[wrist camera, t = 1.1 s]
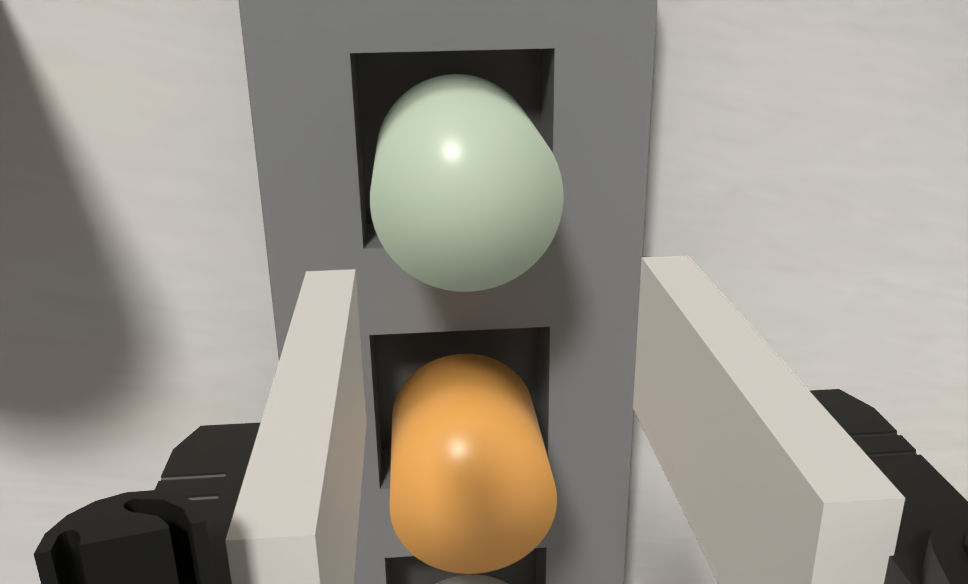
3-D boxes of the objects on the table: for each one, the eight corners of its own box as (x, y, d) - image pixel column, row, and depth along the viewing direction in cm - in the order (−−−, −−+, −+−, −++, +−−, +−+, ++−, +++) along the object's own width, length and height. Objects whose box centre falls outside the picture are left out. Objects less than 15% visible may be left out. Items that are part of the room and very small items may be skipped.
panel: (328, 685, 38) (322, 744, 35) (250, -58, 27) (232, -57, 24) (600, 665, 39) (615, 721, 36) (635, -63, 28) (660, -63, 25)
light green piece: (380, 234, 27) (375, 295, 22) (371, 75, 25) (363, 106, 21) (535, 228, 27) (561, 287, 23) (536, 71, 26) (565, 101, 21)
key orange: (395, 481, 30) (393, 578, 26) (388, 357, 29) (384, 437, 24) (533, 473, 31) (555, 568, 26) (534, 350, 29) (558, 428, 24)
